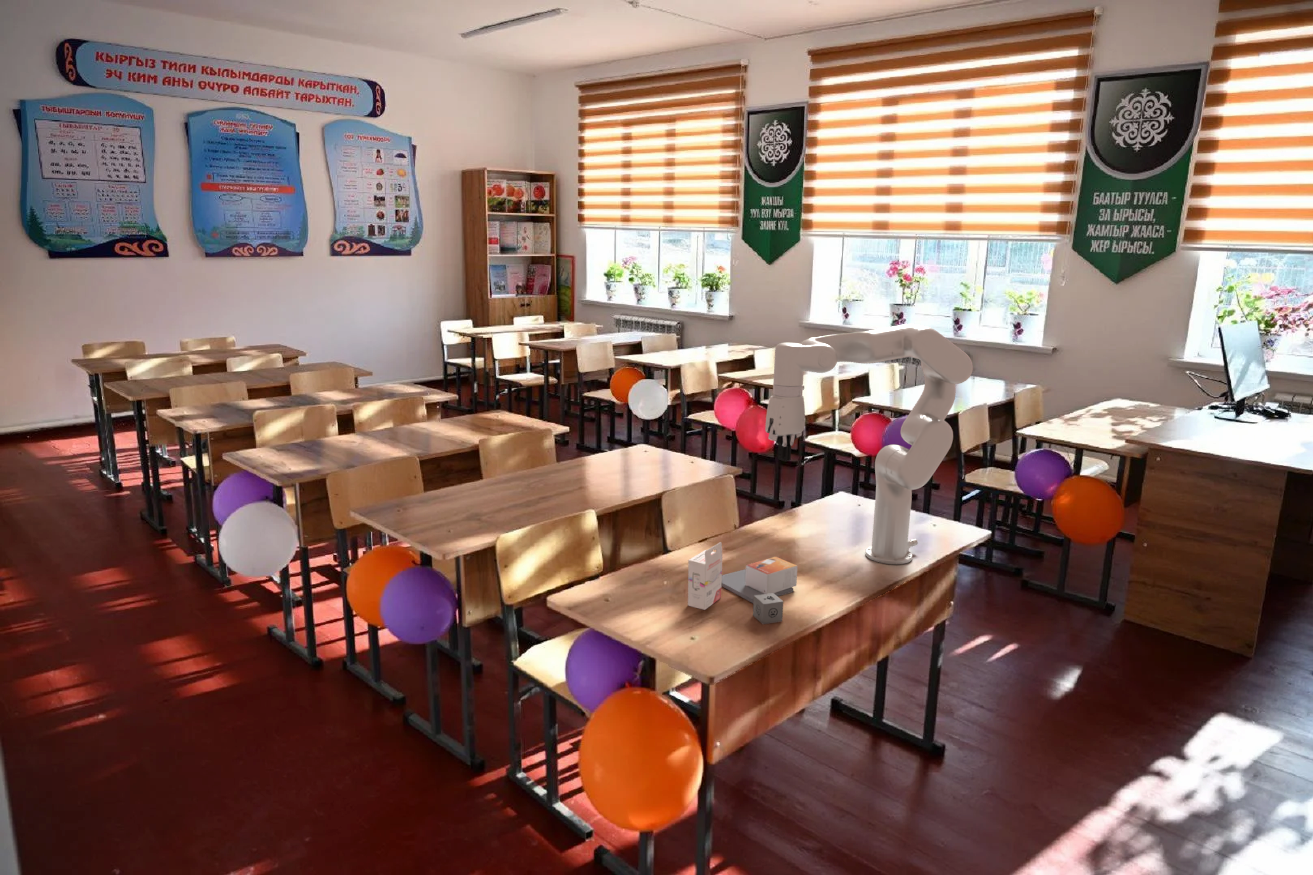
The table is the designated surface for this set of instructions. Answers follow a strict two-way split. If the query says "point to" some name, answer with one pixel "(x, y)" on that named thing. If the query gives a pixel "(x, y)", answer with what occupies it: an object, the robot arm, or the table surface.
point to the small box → (771, 575)
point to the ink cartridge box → (705, 578)
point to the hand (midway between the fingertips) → (784, 459)
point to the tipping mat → (744, 586)
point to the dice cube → (768, 608)
